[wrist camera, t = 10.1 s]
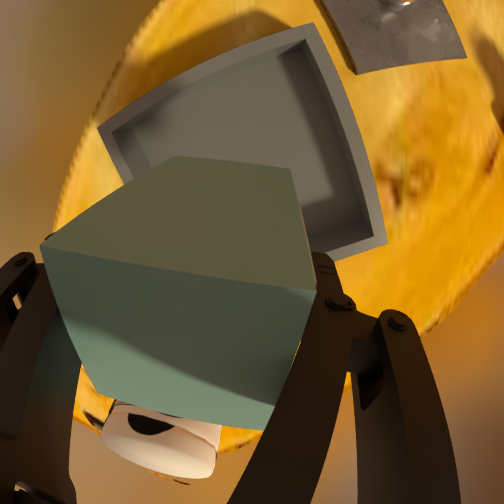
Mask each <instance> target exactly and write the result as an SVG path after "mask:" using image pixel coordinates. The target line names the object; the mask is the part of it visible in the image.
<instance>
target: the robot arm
mask: <svg viewBox="0 0 504 504" xmlns="http://www.w3.org/2000/svg"><path fill="white" fill-rule="evenodd" d="M299 208H300V212H301V207H300V206H299ZM301 216H302V212H301ZM302 221H303V225H304V230H305V235H306V239H307V244H308V249H309V254H310V259H311V264H312V269H313V274H314V279H315V285H316V290H317V292H316V295H315V298H314V301H313V305H312V308H311V311H310V314H309V317H308V320H307V323H306V326H305V329H304V332H303V335H302V337H301V343H300V346H299V348H298V351H297V354H296V356H295V359H294V361H293V364H292V366H291V369H290V371H289V374H288V376H287V379H286V381H285V384H284V386H283V389H282V391H281V393H280V396H279V398H278V400H277V403H276V405H275V407H274V410H273V412H272V414H271V416H270V419H269V421H268V423H267V425H266V427H265V430H264V432H263V434H262V436H261V438H260V440H259V442H258V444H257V447H256V449H255V451H254V453H253V455H252V457H251V459H250V461H249V463H248V465H247V467H246V469H245V471H244V473H243V475H242V477H241V478H240V481H239V482H238V484H237V486H236V488H235V490H234V492H233V493H232V495H231V497H230V499H229V501H228V502H227V504H310V503H311V500H312V497H313V495H314V492H315V489H316V486H317V483H318V480H319V477H320V474H321V471H322V468H323V465H324V462H325V458H326V455H327V452H328V449H329V445H330V441H331V438H332V434H333V431H334V427H335V423H336V419H337V415H338V411H339V406H340V402H341V398H342V393H343V388H344V383H345V378H346V373H347V372H351V382H352V392H353V402H354V414H355V428H356V443H357V471H358V472H357V475H358V504H461V498H460V490H459V482H458V475H457V469H456V463H455V457H454V452H453V447H452V442H451V438H450V434H449V429H448V425H447V421H446V418H445V414H444V410H443V407H442V403H441V399H440V396H439V392H438V389H437V386H436V383H435V380H434V377H433V373H432V371H431V368H430V365H429V362H428V359H427V356H426V353H425V351H424V348H423V345H422V343H421V340H420V337H419V335H418V332H417V330H416V327H415V325H414V323H413V322H412V320H411V319H410V318H409V317H408V316H407V315H406V314H404V313H402V312H400V311H397V310H393V309H387V310H384V311H382V312H381V314H380V316H379V318H375V317H372V316H369V315H366V314H363V313H361V312H359V311H357V309H356V304H355V303H354V301H353V300H352V299H351V298H350V297H349V296H347V295H346V294H344V293H343V289H342V286H341V283H340V280H339V276H338V273H337V270H336V267H335V264H334V261H333V260H332V259H331V258H330V256H329V255H328V254H326V253H320V252H313V251H310V247H309V242H308V238H307V233H306V229H305V224H304V220H303V216H302ZM54 233H55V232H54ZM54 233H52V234H50V235H48V236H47V237H46V238H45V240H46V239H48V238H49V237H50V236H52V235H53V234H54ZM16 294H17V296H18V298H19V301H20V303H21V306H22V307H21V308H20V309H17V308H16V306H15V303H14V301H13V299H12V298H13V297H14V296H15V295H16ZM81 364H82V362H81V360H80V358H79V356H78V354H77V351H76V349H75V347H74V345H73V343H72V340H71V338H70V336H69V333H68V331H67V329H66V326H65V324H64V321H63V319H62V316H61V313H60V311H59V308H58V305H57V303H56V300H55V297H54V294H53V291H52V288H51V285H50V282H49V278H48V275H47V272H46V268H45V265H44V263H36V260H35V257H34V255H33V253H30V252H22V253H18V254H17V255H15V256H14V257H12V258H11V259H10V260H9V261H8V262H7V263H5V265H3V266H2V267H1V268H0V504H77V503H76V502H77V501H76V491H75V488H74V485H73V483H72V481H71V479H70V476H69V449H70V437H71V426H72V418H73V410H74V403H75V397H76V390H77V384H78V379H79V374H80V368H81ZM15 484H16V485H18V486H20V487H22V488H24V489H25V490H26V491H27V492H26V491H24V490H22V489H20V490H19V491H15V490H14V488H15Z"/></svg>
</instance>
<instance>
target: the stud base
mask: <svg viewBox="0 0 504 504" xmlns="http://www.w3.org/2000/svg"><path fill="white" fill-rule="evenodd" d="M320 2H321V4H322V5H323V7H324V9H325V11H326V13H327V14H328V16H329V18H330V20H331V22H332V24H333V26H334V28H335V30H336V32H337V34H338V36H339V38H340V40H341V42H342V44H343V46H344V48H345V50H346V52H347V55H348V57H349V59H350V61H351V64H352V66H353V68H354V71H355V73H356V75H359V74H364V73H368V72H373V71H377V70H382V69H387V68H392V67H398V66H404V65H410V64H417V63H424V62H432V61H441V60H452V59H464V58H467V56H466V53H465V50H464V48H463V45H462V43H461V40H460V38H459V35H458V33H457V30H456V28H455V26H454V24H453V21H452V19H451V17H450V15H449V13H448V11H447V9H446V7H445V5H444V3H443V1H442V0H320Z"/></svg>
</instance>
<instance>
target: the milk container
mask: <svg viewBox="0 0 504 504" xmlns="http://www.w3.org/2000/svg"><path fill="white" fill-rule="evenodd" d="M221 426H222V425H217V424H211V423H206V422H200V421H195V420H190V419H185V418H181V417H177V416H172V415H168V414H164V413H160V412H156V411H153V410H149V409H145V408H142V407H139V406H135V405H132V404H129V403H126V402H123V401H120V400H117V399H115V400H114V402H113V404H112V406H111V408H110V411H109V415H108V417H107V418H106V420H105V423H104V425H103V429H102V433H101V439H102V442H103V443H104V444H105V445H106V446H107V447H108V448H110V450H112V451H114V452H115V453H117V454H118V455H120V456H121V457H123V458H125V459H127V460H129V461H132V462H134V463H135V464H138V465H140V466H143V467H146V468H148V469H151V470H154V471H158V472H161V473H165V474H168V475H173V476H179V477H184V478H207V477H209V476H210V475H211V474H212V472H213V470H214V466H215V463H216V458H217V450H218V447H219V440H220V432H221Z"/></svg>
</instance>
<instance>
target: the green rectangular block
mask: <svg viewBox="0 0 504 504" xmlns="http://www.w3.org/2000/svg"><path fill="white" fill-rule="evenodd" d="M40 250H41V253H42V257H43V261H44V265H45V268H46V272H47V275H48V278H49V282H50V285H51V288H52V291H53V294H54V297H55V300H56V303H57V305H58V308H59V311H60V313H61V316H62V319H63V321H64V324H65V326H66V329H67V331H68V333H69V336H70V338H71V340H72V343H73V345H74V347H75V349H76V351H77V354H78V356H79V358H80V360H81V362H82V364H83V366H84V368H85V370H86V372H87V374H88V376H89V378H90V380H91V382H92V383H93V385H94V387H95V389H96V391H97V392H98V393H100V394H102V395H105V396H108V397H111V398H114V399H117V400H120V401H123V402H126V403H129V404H132V405H135V406H139V407H142V408H145V409H149V410H153V411H156V412H160V413H164V414H168V415H172V416H177V417H181V418H185V419H190V420H195V421H200V422H206V423H211V424H217V425H223V426H230V427H238V428H246V429H255V430H265V427H266V425H267V423H268V421H269V419H270V416H271V414H272V412H273V410H274V407H275V405H276V403H277V400H278V398H279V396H280V393H281V391H282V389H283V386H284V384H285V381H286V378H287V376H288V373H289V370H290V368H291V365H292V362H293V360H294V357H295V354H296V352H297V349H298V346H299V343H300V340H301V337H302V335H303V332H304V329H305V326H306V323H307V320H308V317H309V314H310V311H311V308H312V305H313V301H314V298H315V295H316V292H317V290H316V285H315V279H314V274H313V269H312V264H311V259H310V254H309V249H308V244H307V239H306V235H305V230H304V225H303V221H302V216H301V212H300V208H299V203H298V199H297V195H296V191H295V186H294V182H293V178H292V174H291V170H290V169H287V168H281V167H274V166H267V165H260V164H252V163H244V162H236V161H227V160H218V159H208V158H196V157H183V156H174V157H172V158H170V159H168V160H166V161H164V162H163V163H161V164H159V165H157V166H155V167H154V168H152V169H150V170H148V171H147V172H145V173H143V174H142V175H140V176H138V177H136V178H135V179H133V180H131V181H130V182H128V183H127V184H125V185H123V186H122V187H120V188H119V189H117V190H115V191H114V192H112V193H111V194H109V195H108V196H106V197H105V198H103V199H102V200H100V201H99V202H97V203H96V204H94V205H93V206H91V207H90V208H88V209H87V210H85V211H84V212H83V213H81V214H80V215H78V216H77V217H76V218H74V219H73V220H71V221H70V222H69V223H67V224H66V225H65V226H63V227H62V228H61V229H59V230H58V231H57V232H55V233H54V234H53V235H52V236H50V237H49V238H48V239H46V240H45V241H44V242H43V243H42V244H40Z"/></svg>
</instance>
